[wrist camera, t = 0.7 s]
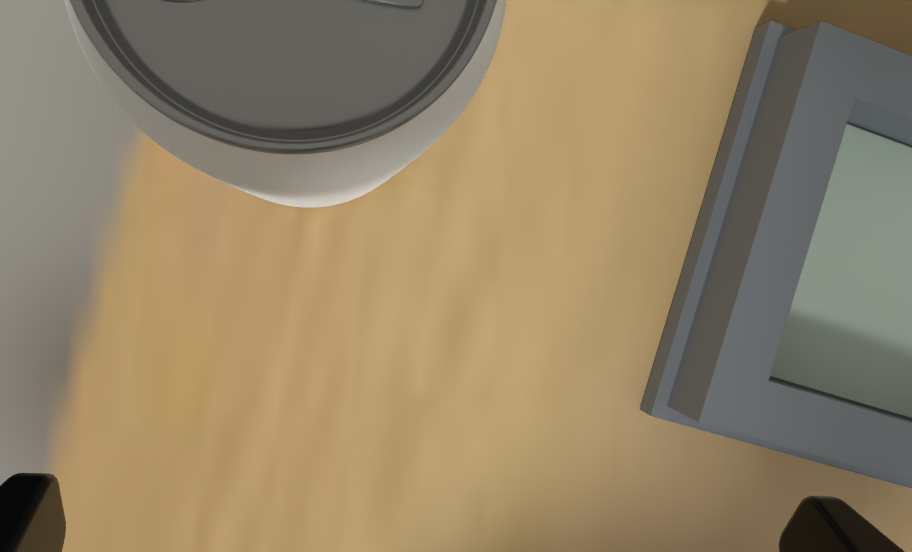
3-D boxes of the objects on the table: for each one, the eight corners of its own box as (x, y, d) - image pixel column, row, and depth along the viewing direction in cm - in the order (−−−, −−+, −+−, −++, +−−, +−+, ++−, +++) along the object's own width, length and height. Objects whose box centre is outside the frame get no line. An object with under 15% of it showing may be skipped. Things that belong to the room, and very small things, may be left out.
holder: (970, 501, 26) (1047, 533, 23) (639, 409, 24) (681, 433, 21) (1079, 150, 26) (1169, 141, 23) (756, 26, 24) (812, 0, 21)
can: (191, -44, 21) (20, -388, 9) (432, -16, 22) (554, -292, 10) (180, 200, 21) (0, 167, 10) (417, 216, 22) (519, 205, 11)
